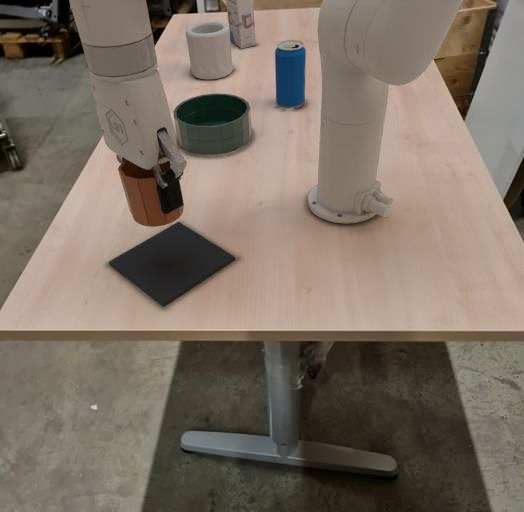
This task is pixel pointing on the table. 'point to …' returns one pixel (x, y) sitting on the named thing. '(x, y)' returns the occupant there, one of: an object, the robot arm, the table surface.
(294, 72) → the beverage can
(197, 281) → the rubber mat
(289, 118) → the table surface
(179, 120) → the green pot
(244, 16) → the ink box
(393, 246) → the table surface
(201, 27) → the mug
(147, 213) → the copper pot
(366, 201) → the robot arm
